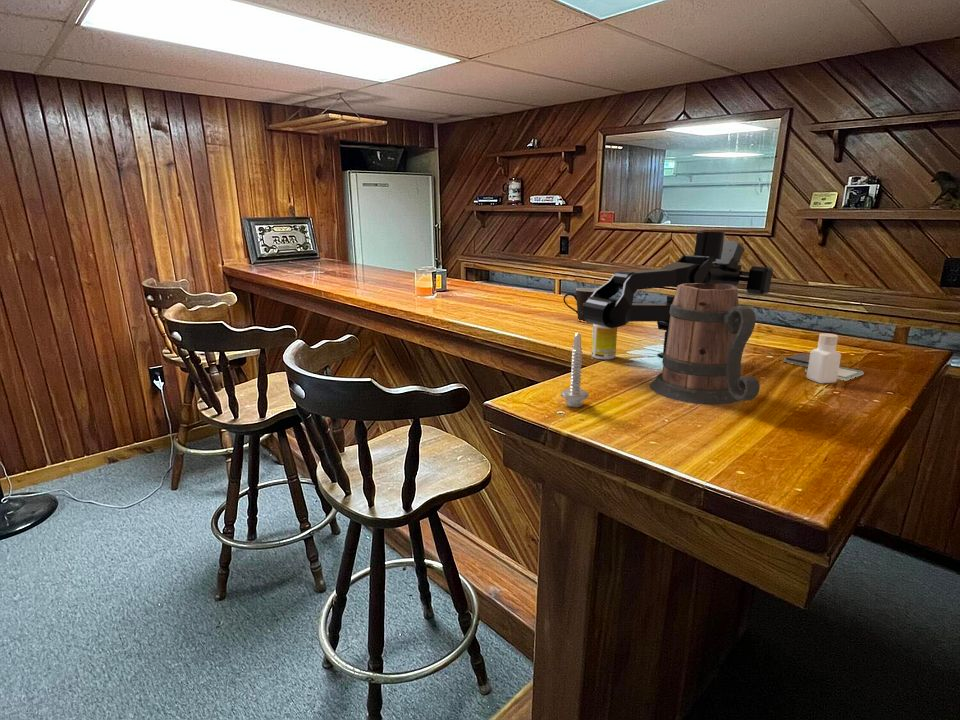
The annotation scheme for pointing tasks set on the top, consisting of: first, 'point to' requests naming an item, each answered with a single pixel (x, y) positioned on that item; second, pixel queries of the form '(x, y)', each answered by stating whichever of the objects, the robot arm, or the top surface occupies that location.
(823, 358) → the pepper shaker
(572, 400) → the screw
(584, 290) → the coffee mug
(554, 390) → the top surface
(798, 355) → the pad
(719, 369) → the tankard
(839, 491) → the top surface
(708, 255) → the robot arm
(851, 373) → the print card
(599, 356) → the supplement bottle
